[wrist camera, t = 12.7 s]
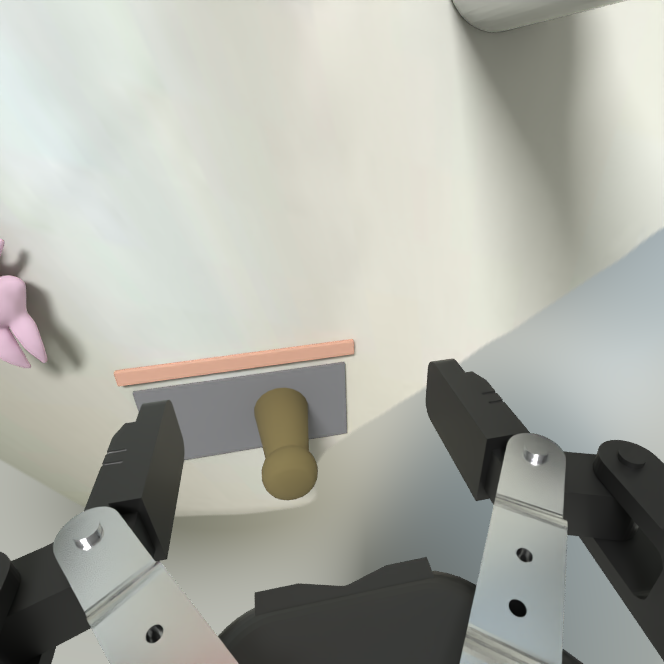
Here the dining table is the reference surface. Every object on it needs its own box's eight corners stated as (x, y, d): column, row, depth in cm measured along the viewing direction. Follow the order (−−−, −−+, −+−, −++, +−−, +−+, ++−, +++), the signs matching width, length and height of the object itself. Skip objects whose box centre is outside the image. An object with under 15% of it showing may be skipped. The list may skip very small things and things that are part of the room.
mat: (344, 361, 46) (344, 363, 46) (346, 430, 51) (346, 432, 51) (133, 391, 43) (132, 393, 43) (157, 461, 48) (156, 464, 48)
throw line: (352, 339, 45) (353, 341, 45) (352, 351, 46) (353, 353, 45) (115, 370, 42) (113, 374, 41) (119, 382, 42) (118, 386, 42)
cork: (293, 435, 50) (306, 515, 40) (245, 422, 47) (246, 503, 38) (317, 396, 47) (336, 471, 38) (268, 380, 45) (275, 455, 36)
